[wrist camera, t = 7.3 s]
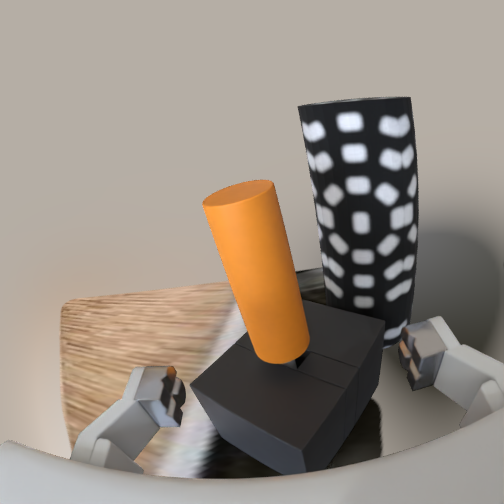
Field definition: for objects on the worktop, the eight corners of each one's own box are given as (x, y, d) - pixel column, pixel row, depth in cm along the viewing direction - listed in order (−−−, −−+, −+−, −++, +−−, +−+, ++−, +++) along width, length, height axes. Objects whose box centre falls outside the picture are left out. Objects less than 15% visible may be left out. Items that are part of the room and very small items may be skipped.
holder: (296, 355, 26) (285, 294, 23) (378, 384, 21) (385, 320, 18) (221, 437, 20) (188, 384, 17) (310, 489, 15) (301, 451, 11)
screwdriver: (297, 392, 22) (235, 181, 15) (331, 406, 20) (287, 177, 13) (273, 421, 20) (187, 206, 13) (309, 438, 18) (239, 206, 11)
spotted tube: (337, 292, 33) (313, 103, 24) (411, 296, 29) (407, 96, 20) (317, 346, 26) (281, 109, 17) (407, 354, 22) (415, 98, 13)
